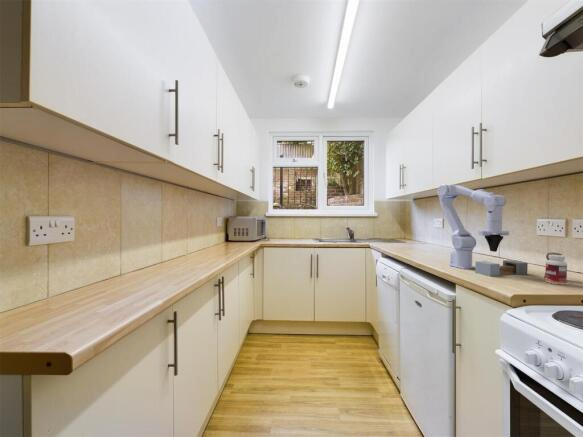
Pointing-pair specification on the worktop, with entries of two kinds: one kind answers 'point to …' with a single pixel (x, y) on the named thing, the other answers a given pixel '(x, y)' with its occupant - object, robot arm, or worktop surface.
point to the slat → (507, 270)
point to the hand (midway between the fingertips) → (493, 251)
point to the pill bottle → (556, 270)
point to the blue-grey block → (487, 268)
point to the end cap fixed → (517, 266)
